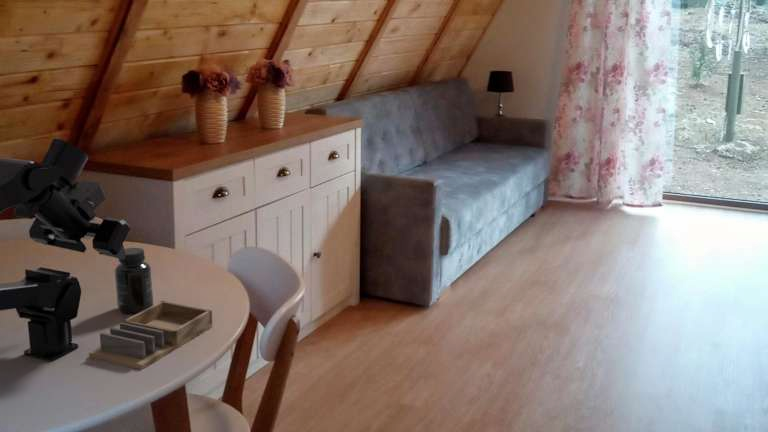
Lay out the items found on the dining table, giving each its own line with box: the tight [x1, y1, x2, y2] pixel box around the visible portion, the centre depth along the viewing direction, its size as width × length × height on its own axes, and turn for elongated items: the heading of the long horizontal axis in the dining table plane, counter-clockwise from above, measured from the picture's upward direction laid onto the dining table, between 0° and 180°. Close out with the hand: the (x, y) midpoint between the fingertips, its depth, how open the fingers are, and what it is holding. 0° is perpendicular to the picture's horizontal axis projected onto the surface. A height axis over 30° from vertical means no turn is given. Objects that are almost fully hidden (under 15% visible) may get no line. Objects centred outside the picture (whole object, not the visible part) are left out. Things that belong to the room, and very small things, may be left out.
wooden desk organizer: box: [88, 300, 213, 370], centre depth 148 cm, size 20×11×4 cm, turn 157°
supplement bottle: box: [114, 247, 154, 316], centre depth 162 cm, size 7×7×12 cm
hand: (104, 253), depth 153 cm, fingers open, 9 cm apart
